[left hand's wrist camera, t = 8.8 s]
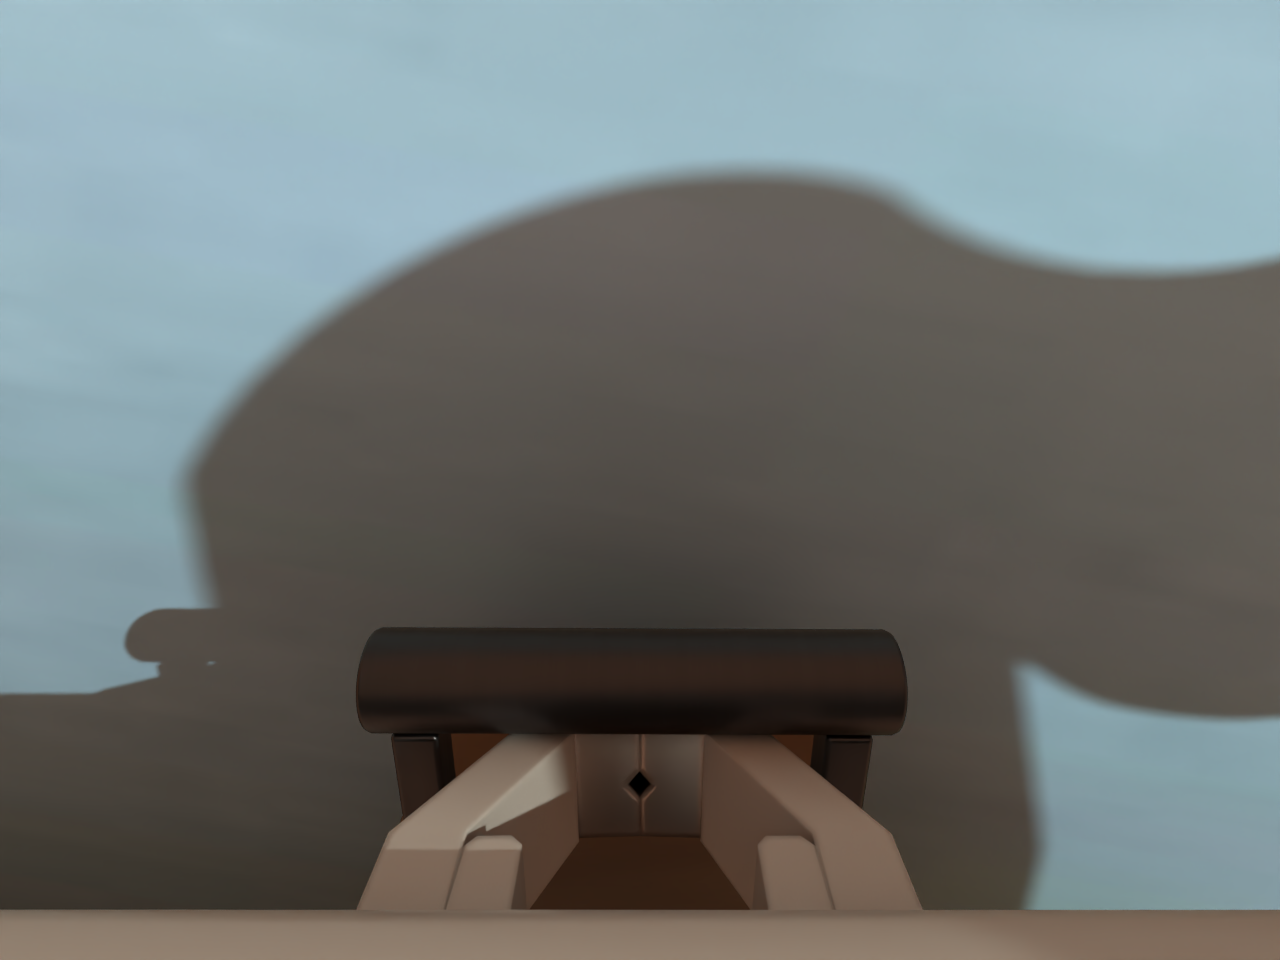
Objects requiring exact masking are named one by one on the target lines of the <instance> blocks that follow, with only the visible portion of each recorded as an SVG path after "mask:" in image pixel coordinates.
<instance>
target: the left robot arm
mask: <svg viewBox="0 0 1280 960" xmlns="http://www.w3.org/2000/svg"><path fill="white" fill-rule="evenodd" d="M630 836H648V837H683V838H701V839H700V841H701V842H702V844H703V845H704V847H705V848H706V849H707V851H708V852H709V853H710V855H711V856H712V858H713V859H714V860H715V862H716V863H717V864H718V866H719V867H720V869H721V870H722V871H723V873H724V874H725V875H726V877H727V878H728V880H729V881H730V882H731V884H732V885H733V886H734V888H735V889H736V891H737V892H738V893H739V895H740V896H741V897H742V899H743V900H744V902H745V903H746V904H747V906H748V907H749V908H750V910H529V909H530V908H531V906H532V905H533V904H534V902H535V901H536V900H537V898H538V897H539V896H540V894H541V893H542V891H543V890H544V889H545V887H546V886H547V885H548V883H549V882H550V881H551V879H552V878H553V876H554V875H555V874H556V872H557V871H558V870H559V868H560V867H561V866H562V864H563V863H564V861H565V860H566V859H567V857H568V856H569V855H570V853H571V852H572V851H573V849H574V848H575V846H576V845H577V844H578V842H579V838H596V837H630ZM0 960H1280V910H923V909H922V906H921V904H920V901H919V899H918V897H917V894H916V892H915V889H914V887H913V884H912V882H911V880H910V877H909V875H908V872H907V870H906V867H905V865H904V863H903V860H902V858H901V855H900V853H899V850H898V848H897V846H896V843H895V841H894V838H893V836H892V834H891V833H890V832H889V831H888V830H887V829H885V828H884V827H883V826H882V825H880V824H879V823H878V822H877V821H876V820H874V819H873V818H872V817H871V816H869V815H868V814H867V813H866V812H865V811H863V810H862V809H861V808H860V807H858V806H857V805H856V804H855V803H854V802H852V801H851V800H850V799H849V798H848V797H846V796H845V795H844V794H843V793H841V792H840V791H839V790H838V789H837V788H835V787H834V786H833V785H832V784H830V783H829V782H828V781H827V780H826V779H824V778H823V777H822V776H821V775H819V774H818V773H817V772H816V771H815V770H813V769H812V768H811V767H810V766H808V765H807V764H806V763H805V762H804V761H802V760H801V759H800V758H799V757H797V756H796V755H795V754H794V753H793V752H791V751H790V750H789V749H788V748H787V747H785V746H784V745H783V744H782V743H780V742H779V741H778V740H777V739H776V738H774V737H773V736H772V735H690V734H509V735H507V736H506V737H505V738H504V739H503V740H501V741H500V742H499V743H498V744H496V745H495V746H494V747H493V748H492V749H490V750H489V751H488V752H487V753H485V754H484V755H483V756H482V757H480V758H479V759H478V760H477V761H476V762H474V763H473V764H472V765H471V766H469V767H468V768H467V769H466V770H465V771H463V772H462V773H461V774H460V775H458V776H457V777H456V778H455V779H453V780H452V781H451V782H450V783H449V784H447V785H446V786H445V787H444V788H442V789H441V790H440V791H439V792H437V793H436V794H435V795H434V796H433V797H431V798H430V799H429V800H428V801H426V802H425V803H424V804H423V805H422V806H420V807H419V808H418V809H417V810H415V811H414V812H413V813H412V814H410V815H409V816H408V817H407V818H406V819H404V820H403V821H402V822H401V823H399V824H398V825H397V826H396V827H395V828H393V829H392V830H391V831H390V832H388V835H387V837H386V839H385V842H384V844H383V847H382V849H381V851H380V854H379V856H378V859H377V861H376V863H375V866H374V868H373V870H372V873H371V875H370V878H369V880H368V882H367V885H366V887H365V890H364V892H363V894H362V897H361V899H360V902H359V904H358V906H357V909H356V910H0Z"/></svg>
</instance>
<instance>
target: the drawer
mask: <svg viewBox="0 0 1280 960" xmlns="http://www.w3.org/2000/svg"><path fill="white" fill-rule="evenodd" d="M907 701H908V689H907V677H906V671H905V666H904V661H903V658H902V654H901V651H900V648H899V646H898V644H897V642H896V640H895V638H894V637H893V636H892V635H891V634H890V633H889V632H887V631H885V630H882V629H656V628H425V627H383V628H380V629H377V630H376V631H374V632H373V633H372V634H371V636H370V637H369V639H368V641H367V643H366V645H365V647H364V650H363V653H362V656H361V660H360V664H359V668H358V674H357V682H356V706H357V713H358V718H359V721H360V723H361V725H362V727H363V728H364V729H365V730H366V731H368V732H370V733H393V734H392V737H391V740H392V747H393V754H394V760H395V767H396V774H397V780H398V787H399V793H400V800H401V807H402V813H403V816H402V818H401V821H400V823H401V822H402V821H403V820H404V819H406V818H407V817H408V816H409V815H410V814H412V813H413V812H414V811H415V810H417V809H418V808H419V807H420V806H422V805H423V804H424V803H425V802H426V801H428V800H429V799H430V798H431V797H433V796H434V795H435V794H436V793H437V792H439V791H440V790H441V789H442V788H444V787H445V786H446V785H447V784H449V783H450V782H451V781H452V780H453V779H455V778H456V777H457V776H458V775H460V774H461V773H462V772H463V771H465V770H466V769H467V768H468V767H469V766H471V765H472V764H473V763H474V762H476V761H477V760H478V759H479V758H480V757H482V756H483V755H484V754H485V753H487V752H488V751H489V750H490V749H492V748H493V747H494V746H495V745H496V744H498V743H499V742H500V741H501V740H503V739H504V738H505V737H506V736H507V735H509V734H690V735H772V736H773V737H774V738H776V739H777V740H778V741H779V742H780V743H782V744H783V745H784V746H785V747H787V748H788V749H789V750H790V751H791V752H793V753H794V754H795V755H796V756H797V757H799V758H800V759H801V760H802V761H804V762H805V763H806V764H807V765H808V766H810V767H811V768H812V769H813V770H815V771H816V772H817V773H818V774H819V775H821V776H822V777H823V778H824V779H826V780H827V781H828V782H829V783H830V784H832V785H833V786H834V787H835V788H837V789H838V790H839V791H840V792H841V793H843V794H844V795H845V796H846V797H848V798H849V799H850V800H851V801H852V802H854V803H855V804H856V805H857V806H858V807H860V808H861V809H862V807H863V800H864V794H865V787H866V781H867V774H868V768H869V761H870V755H871V748H872V742H873V739H872V736H871V735H893V734H896V733H898V732H899V731H900V730H901V728H902V726H903V724H904V721H905V717H906V711H907ZM700 839H701V838H683V837H648V836H630V837H596V838H579V842H578V844H577V845H576V846H575V848H574V849H573V851H572V852H571V853H570V855H569V856H568V857H567V859H566V860H565V861H564V863H563V864H562V866H561V867H560V868H559V870H558V871H557V872H556V874H555V875H554V876H553V878H552V879H551V881H550V882H549V883H548V885H547V886H546V887H545V889H544V890H543V891H542V893H541V894H540V896H539V897H538V898H537V900H536V901H535V902H534V904H533V905H532V906H531V908H530V909H529V910H750V908H749V907H748V906H747V904H746V903H745V902H744V900H743V899H742V897H741V896H740V895H739V893H738V892H737V891H736V889H735V888H734V886H733V885H732V884H731V882H730V881H729V880H728V878H727V877H726V875H725V874H724V873H723V871H722V870H721V869H720V867H719V866H718V864H717V863H716V862H715V860H714V859H713V858H712V856H711V855H710V853H709V852H708V851H707V849H706V848H705V847H704V845H703V844H702V842H701V841H700Z"/></svg>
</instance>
